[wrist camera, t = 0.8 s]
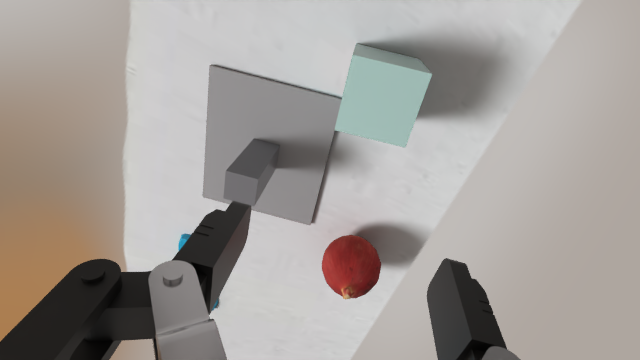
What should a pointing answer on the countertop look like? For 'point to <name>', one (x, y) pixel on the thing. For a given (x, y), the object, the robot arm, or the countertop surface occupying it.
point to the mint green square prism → (382, 95)
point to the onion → (351, 266)
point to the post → (251, 172)
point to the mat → (269, 138)
